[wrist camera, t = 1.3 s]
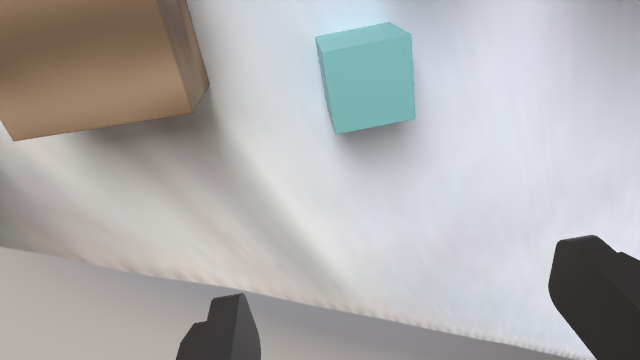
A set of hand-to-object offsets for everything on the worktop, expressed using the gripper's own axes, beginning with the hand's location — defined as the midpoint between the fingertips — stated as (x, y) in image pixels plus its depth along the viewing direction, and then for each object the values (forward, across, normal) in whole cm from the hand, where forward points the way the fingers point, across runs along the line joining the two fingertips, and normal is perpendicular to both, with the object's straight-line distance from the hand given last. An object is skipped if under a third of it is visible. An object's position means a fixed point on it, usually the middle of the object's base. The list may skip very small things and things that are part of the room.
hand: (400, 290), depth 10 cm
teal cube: (+20, -2, -1) cm, 20 cm away
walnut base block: (+20, +13, -7) cm, 24 cm away
